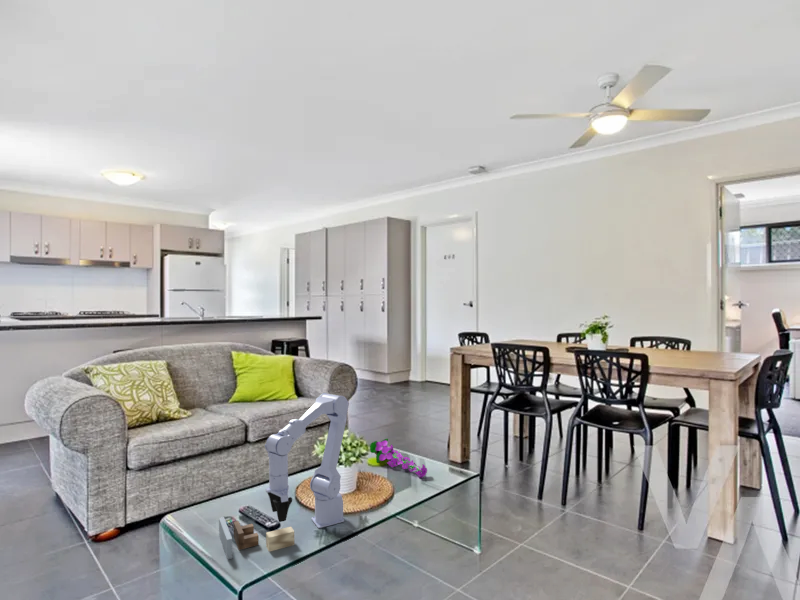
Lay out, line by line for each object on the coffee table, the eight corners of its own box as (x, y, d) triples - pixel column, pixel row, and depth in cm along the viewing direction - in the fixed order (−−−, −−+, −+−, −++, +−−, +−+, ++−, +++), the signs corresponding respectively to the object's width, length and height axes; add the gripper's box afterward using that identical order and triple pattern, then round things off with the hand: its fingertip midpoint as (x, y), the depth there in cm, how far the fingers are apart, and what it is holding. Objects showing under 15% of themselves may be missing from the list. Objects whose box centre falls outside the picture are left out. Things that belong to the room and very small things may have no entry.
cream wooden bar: (291, 540, 152) (291, 526, 152) (294, 545, 149) (294, 531, 149) (266, 546, 149) (266, 532, 149) (269, 552, 145) (268, 537, 145)
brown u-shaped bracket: (252, 532, 157) (252, 517, 157) (258, 544, 149) (258, 529, 149) (233, 537, 154) (233, 521, 154) (238, 550, 146) (238, 534, 146)
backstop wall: (223, 534, 156) (223, 516, 156) (232, 558, 142) (232, 538, 142) (219, 535, 155) (218, 517, 155) (227, 559, 141) (227, 539, 141)
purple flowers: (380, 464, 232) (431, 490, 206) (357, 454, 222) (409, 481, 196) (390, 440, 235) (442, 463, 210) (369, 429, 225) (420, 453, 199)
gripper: (260, 468, 153) (261, 509, 153) (271, 483, 141) (271, 528, 141) (282, 464, 157) (282, 504, 157) (294, 479, 144) (295, 523, 144)
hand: (279, 515), depth 149 cm, fingers open, 7 cm apart
